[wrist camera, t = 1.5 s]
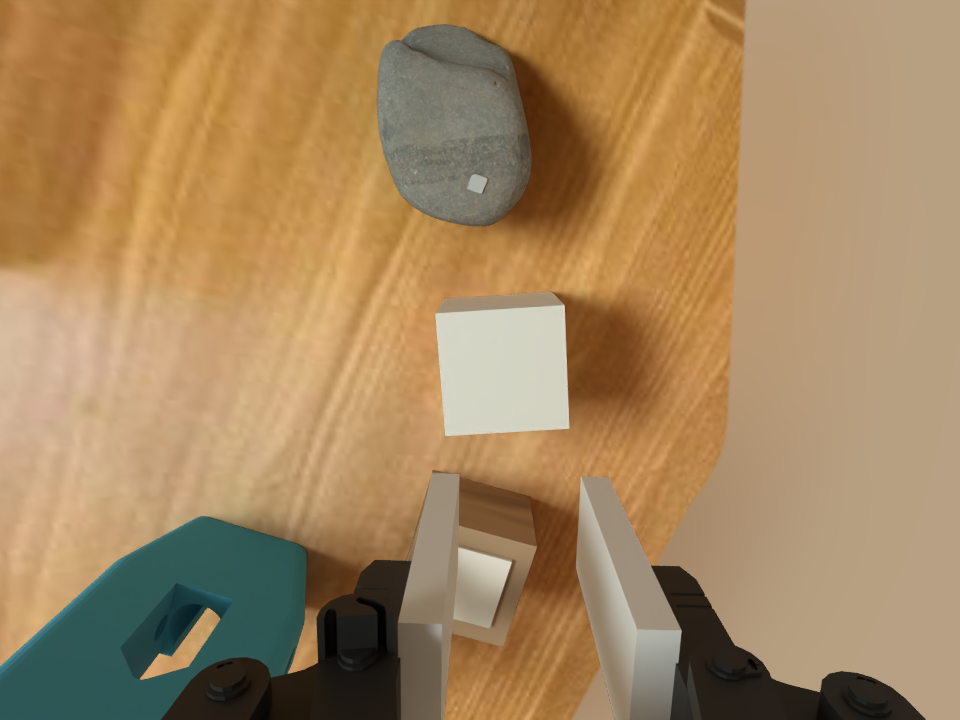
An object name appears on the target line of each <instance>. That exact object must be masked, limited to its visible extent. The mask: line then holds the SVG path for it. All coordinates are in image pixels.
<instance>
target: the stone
mask: <svg viewBox="0 0 960 720" xmlns="http://www.w3.org/2000/svg"><path fill="white" fill-rule="evenodd" d="M377 113H378V124H379V132H380V138H381V143H382V147H383V152H384V155H385V158H386V161H387V163H388V166H389V169H390V172H391V175H392V177H393V180H394V183H395V185H396V187H397V189H398V191H399V193H400V194H401V196H402V197H403V198H404V199H405V200H406V201H407V202H408V203H409V204H411V205H412V206H413V207H414V208H416V209H418V210H419V211H421V212H423V213H425V214H427V215H429V216H431V217H434V218H437V219H440V220H443V221H447V222H451V223H456V224H462V225H468V226H489V225H491V224H494V223H496V222H497V221H499V220H500V219H502V218H503V217H504V216H505V215H506V214H507V213H508V212H509V211H510V210H511V209H512V208H513V207H514V206H515V205H516V203H517V202H518V201H519V200H520V198H521V197H522V195H523V194H524V191H525V189H526V187H527V184H528V182H529V178H530V174H531V170H532V153H531V146H530V139H529V132H528V127H527V122H526V117H525V113H524V109H523V104H522V100H521V96H520V92H519V87H518V82H517V78H516V74H515V70H514V66H513V63H512V60H511V57H510V55H509V54H508V52H507V51H506V50H505V49H503V48H502V47H500V46H499V45H496V44H492V43H490V42H488V41H487V40H485V39H484V38H483V37H481V36H480V35H478V34H476V33H474V32H472V31H470V30H468V29H466V28H465V27H458V26H453V25H447V24H444V25H433V26H426V27H421V28H417V29H415V30H413V31H411V32H410V33H409V34H408V35H407V36H406V37H405V38H404V39H402V40H401V41H400V40H395V41H392V42H390V43H388V44H387V45H386V46H385V47H384V49H383V51H382V54H381V57H380V61H379V71H378V90H377Z"/></svg>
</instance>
